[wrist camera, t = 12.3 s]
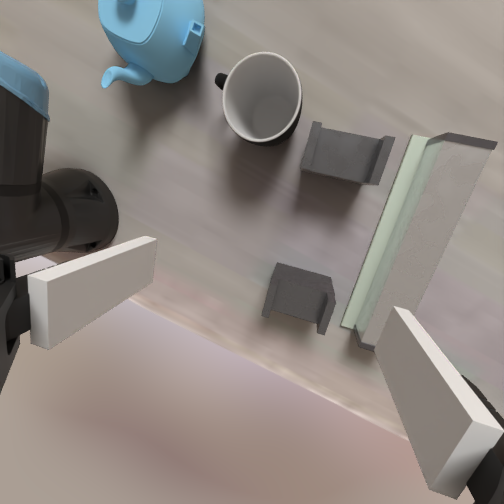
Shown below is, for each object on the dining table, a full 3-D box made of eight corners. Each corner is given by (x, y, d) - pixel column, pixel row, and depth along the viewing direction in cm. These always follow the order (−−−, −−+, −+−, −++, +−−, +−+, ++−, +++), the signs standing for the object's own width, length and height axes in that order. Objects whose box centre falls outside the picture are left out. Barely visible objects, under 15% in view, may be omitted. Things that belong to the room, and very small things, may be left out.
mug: (316, 105, 36) (319, 77, 27) (281, 163, 39) (273, 157, 30) (244, 61, 37) (221, 19, 27) (215, 122, 40) (186, 103, 30)
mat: (340, 323, 44) (341, 325, 43) (411, 135, 35) (413, 134, 34) (395, 340, 43) (396, 342, 42) (483, 149, 34) (485, 149, 33)
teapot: (232, 78, 38) (202, 36, 27) (153, 112, 41) (99, 87, 31) (199, -45, 35) (150, -146, 24) (117, 4, 38) (43, -65, 28)
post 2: (301, 170, 39) (299, 167, 30) (311, 135, 37) (312, 120, 28) (362, 184, 38) (379, 185, 29) (374, 148, 36) (396, 137, 27)
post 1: (270, 288, 45) (260, 315, 36) (277, 262, 43) (269, 283, 34) (321, 303, 44) (325, 335, 35) (330, 277, 42) (336, 303, 33)
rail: (385, 337, 42) (395, 358, 37) (353, 328, 43) (358, 346, 38) (470, 147, 33) (497, 141, 29) (427, 139, 34) (448, 132, 29)
